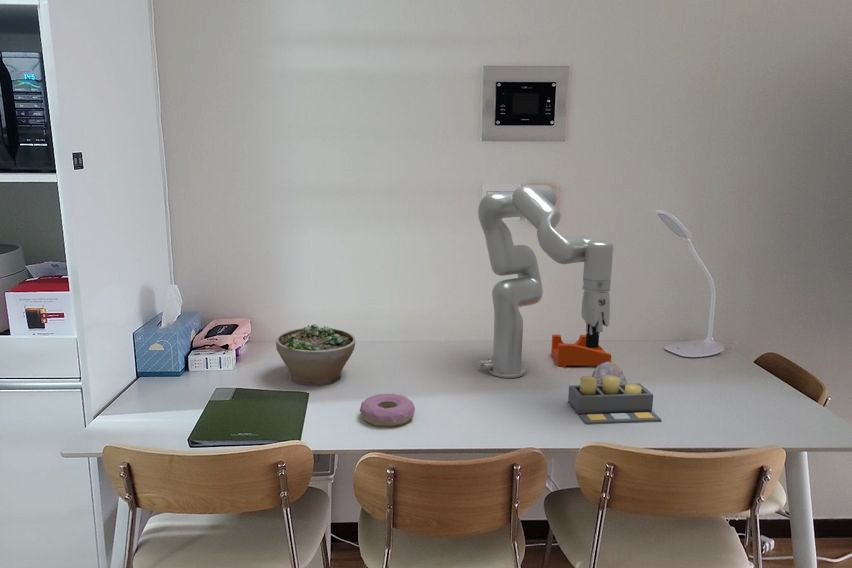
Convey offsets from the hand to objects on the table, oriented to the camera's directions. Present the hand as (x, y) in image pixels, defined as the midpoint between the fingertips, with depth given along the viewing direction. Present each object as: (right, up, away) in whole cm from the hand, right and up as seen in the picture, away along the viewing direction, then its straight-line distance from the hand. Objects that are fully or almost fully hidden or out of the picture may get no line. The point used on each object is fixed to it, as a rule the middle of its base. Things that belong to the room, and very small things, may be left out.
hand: (591, 346), depth 192 cm
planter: (-83, -12, +26) cm, 88 cm away
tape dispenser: (+7, -10, +45) cm, 46 cm away
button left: (0, -14, +3) cm, 15 cm away
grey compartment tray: (+6, -18, +5) cm, 20 cm away
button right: (+13, -17, +6) cm, 22 cm away
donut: (-58, -20, -4) cm, 62 cm away
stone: (+11, -15, +23) cm, 29 cm away
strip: (+7, -20, -3) cm, 22 cm away
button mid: (+6, -14, +4) cm, 16 cm away
